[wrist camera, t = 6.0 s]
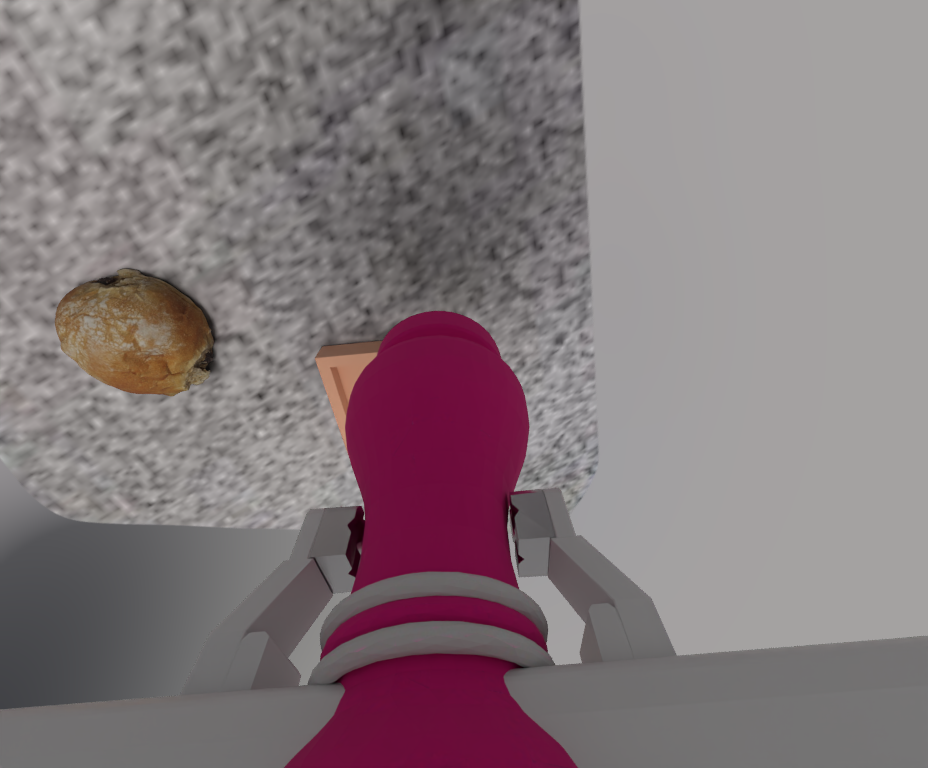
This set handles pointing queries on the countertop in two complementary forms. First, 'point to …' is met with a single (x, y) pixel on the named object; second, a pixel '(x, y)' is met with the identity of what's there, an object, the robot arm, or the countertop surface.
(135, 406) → the countertop surface
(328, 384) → the terracotta tray
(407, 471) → the pepper mill
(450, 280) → the countertop surface
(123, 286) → the bread roll
